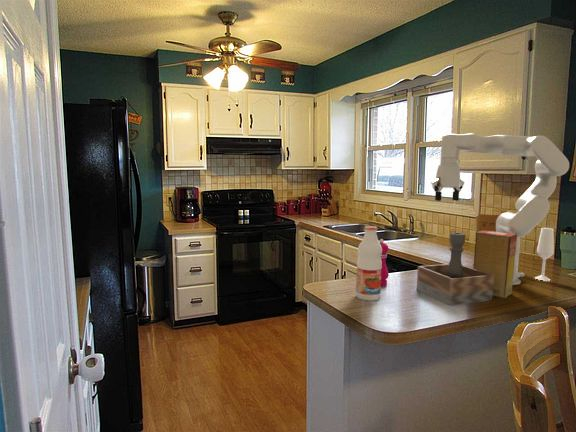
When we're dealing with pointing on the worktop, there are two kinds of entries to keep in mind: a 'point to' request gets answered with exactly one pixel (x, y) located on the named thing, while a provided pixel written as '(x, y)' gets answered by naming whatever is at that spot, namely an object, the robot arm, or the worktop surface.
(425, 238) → the worktop surface
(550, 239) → the champagne flute
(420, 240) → the worktop surface
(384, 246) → the pepper mill
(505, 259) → the food packaging
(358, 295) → the fruit juice
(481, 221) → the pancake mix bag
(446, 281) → the open box
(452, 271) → the candle holder
